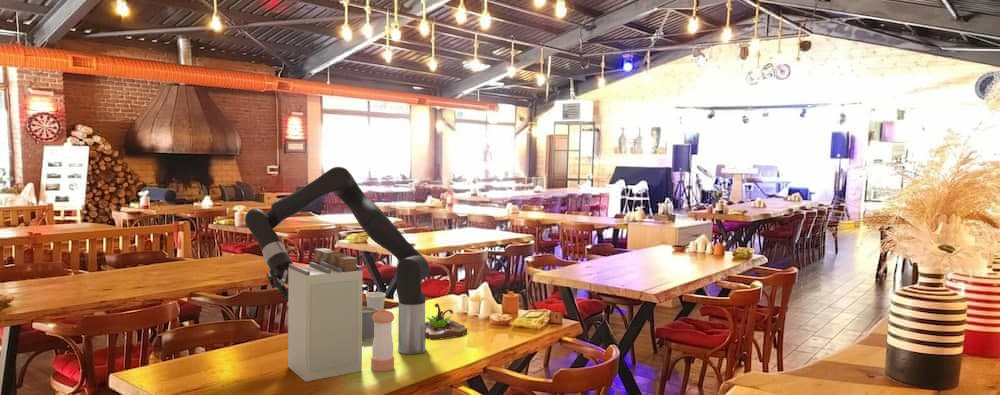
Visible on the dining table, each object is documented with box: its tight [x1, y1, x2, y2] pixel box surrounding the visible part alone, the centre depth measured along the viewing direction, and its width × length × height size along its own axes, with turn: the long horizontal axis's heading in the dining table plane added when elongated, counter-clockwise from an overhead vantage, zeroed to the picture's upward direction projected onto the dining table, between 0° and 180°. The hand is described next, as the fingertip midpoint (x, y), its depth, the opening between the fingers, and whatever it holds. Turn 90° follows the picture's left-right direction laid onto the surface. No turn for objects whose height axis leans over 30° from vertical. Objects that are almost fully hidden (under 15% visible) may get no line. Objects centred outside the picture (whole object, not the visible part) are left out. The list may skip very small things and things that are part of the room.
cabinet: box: [287, 261, 364, 383], centre depth 203 cm, size 16×18×33 cm
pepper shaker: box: [370, 308, 395, 372], centre depth 206 cm, size 7×7×19 cm
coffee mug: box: [362, 306, 378, 340], centre depth 245 cm, size 13×10×10 cm
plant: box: [425, 303, 468, 340], centre depth 252 cm, size 20×20×11 cm
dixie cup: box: [365, 291, 387, 311], centre depth 271 cm, size 8×8×10 cm
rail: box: [313, 247, 358, 272], centre depth 210 cm, size 26×4×4 cm, turn 36°
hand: (296, 296), depth 215 cm, fingers open, 8 cm apart
